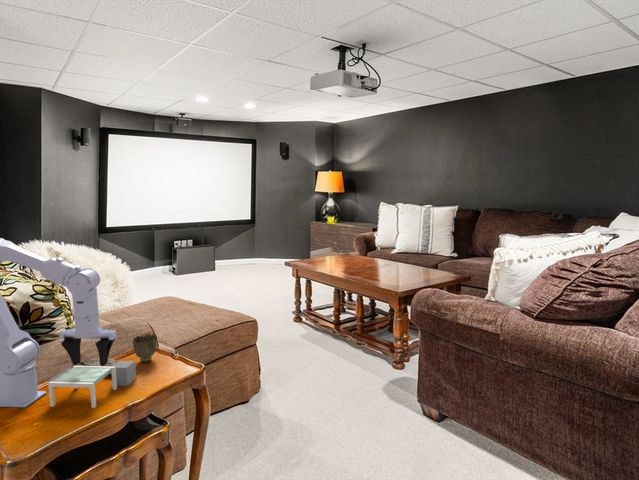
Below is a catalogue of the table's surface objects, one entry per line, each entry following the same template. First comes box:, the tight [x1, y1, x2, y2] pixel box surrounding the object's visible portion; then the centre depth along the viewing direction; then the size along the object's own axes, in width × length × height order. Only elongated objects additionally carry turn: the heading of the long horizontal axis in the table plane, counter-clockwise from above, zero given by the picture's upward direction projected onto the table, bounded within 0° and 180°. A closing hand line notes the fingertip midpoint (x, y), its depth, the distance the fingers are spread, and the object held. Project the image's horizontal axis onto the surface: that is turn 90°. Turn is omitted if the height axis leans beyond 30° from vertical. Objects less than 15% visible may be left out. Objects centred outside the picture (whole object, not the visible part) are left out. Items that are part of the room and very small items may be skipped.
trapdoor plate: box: [47, 366, 111, 385], centre depth 114 cm, size 12×8×2 cm
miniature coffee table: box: [47, 365, 118, 409], centre depth 114 cm, size 12×11×6 cm
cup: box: [131, 333, 158, 363], centre depth 138 cm, size 8×7×8 cm
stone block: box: [112, 360, 137, 387], centre depth 123 cm, size 5×5×6 cm
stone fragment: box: [79, 355, 139, 376], centre depth 134 cm, size 25×3×10 cm
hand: (90, 364), depth 113 cm, fingers open, 7 cm apart
